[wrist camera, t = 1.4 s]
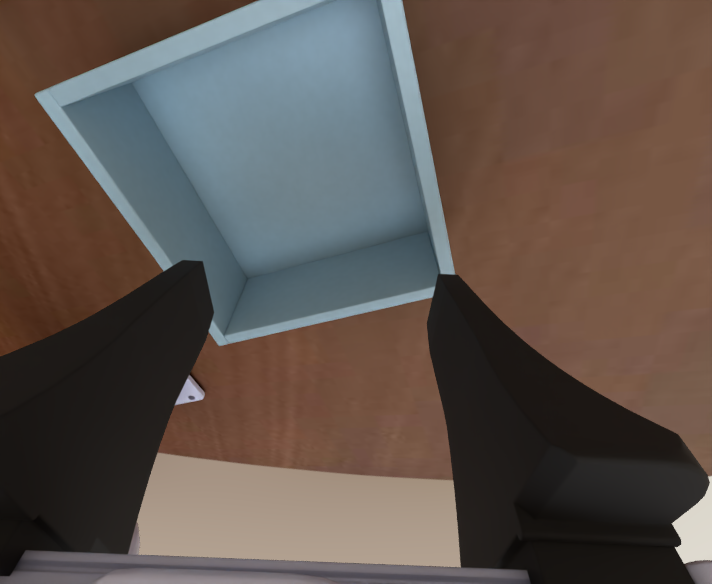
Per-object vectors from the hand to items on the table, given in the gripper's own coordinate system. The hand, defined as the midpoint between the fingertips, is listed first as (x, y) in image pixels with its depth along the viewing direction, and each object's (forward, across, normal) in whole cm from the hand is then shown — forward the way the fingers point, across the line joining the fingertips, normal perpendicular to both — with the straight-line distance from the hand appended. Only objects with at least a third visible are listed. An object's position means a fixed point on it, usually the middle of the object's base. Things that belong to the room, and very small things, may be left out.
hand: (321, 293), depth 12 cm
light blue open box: (+10, +2, -1) cm, 10 cm away
